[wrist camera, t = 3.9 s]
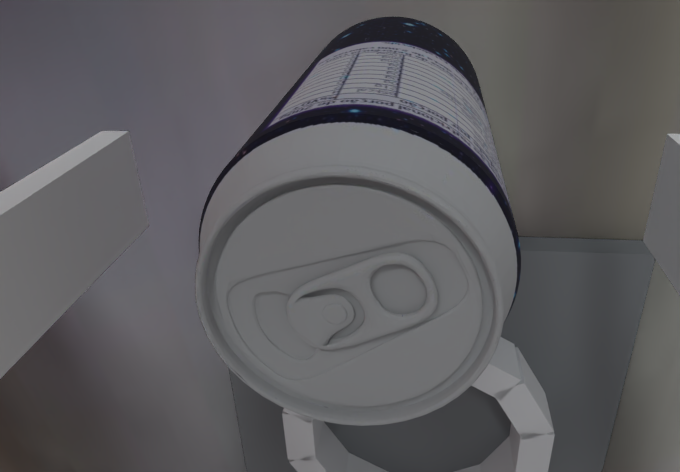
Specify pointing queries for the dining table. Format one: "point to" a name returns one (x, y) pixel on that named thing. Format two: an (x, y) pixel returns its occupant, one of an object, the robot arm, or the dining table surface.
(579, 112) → the dining table surface
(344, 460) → the ring seat
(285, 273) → the beverage can
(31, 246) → the robot arm
